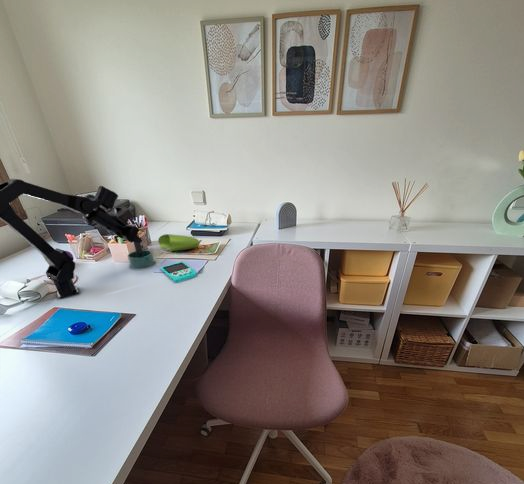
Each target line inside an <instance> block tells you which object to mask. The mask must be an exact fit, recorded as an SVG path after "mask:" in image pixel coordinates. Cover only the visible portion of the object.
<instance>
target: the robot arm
mask: <svg viewBox="0 0 524 484" xmlns="http://www.w3.org/2000/svg"><path fill="white" fill-rule="evenodd" d="M22 195H25V196H29V197H32V198H36V199H40V200H42V201H47V202H51V203H54V204H58V205H59V206H62V207H63V208H66V209H68V210H70V211H72V212H75V213H79V214H83V216H82V218H83V219H84V223H85V224H87V225H92V223H93V222H94V223H95V224H97V225H99V226H100V227H101V228H103V229H105V230H106V232H107V233H108V234H110V235H112V236H116V237H117V238H120V239H123V240H124V241H126V242H129V243H134V242H140V243H142V242H143V240H142V238H141V237H140V236H139V237H138V236H137V234H139V233H140V228H139V227H137V226H136V225H133V224H130V225H128V222H127V221H129V220H130V219H131V218H133V217H134V213H133V212H132V211H131V210H130V208H129V207H125V206H121V207H119V206H116V207H114V206H115V204H116V202H117V200H118V198H119V195H118V193H116V192H115V191H114V190H111V189H109V188H106V187H105V186H104V185H99V186H98V188H97V191H96V194H95V195H94V197H86V196H81V195H77V194H68V193H62V192H59V191H56V190H53V189H49V188H46V187H43V186H40V185H37V184H33V183H31V182H26V181H24V180H22V179H19V178H10V179H8V180H6V181H4V182H2V183H0V221H2V222H3V223H5V224H6V225H7V226H8V227H9V228H10V229H11V230H13V231H14V232H15V233H16V234H17V235H18V236H20V238H22V239H23V240H25V242H27V243H28V244H29V245H30V246H31V247H32V248H34V249H35V250H36V251H37V252H38V253H39V254H40V255H42V257H43V260H44V261H45V262H46V263H47V264H48V267H47V269H46V271H45V275H46V276H47V275H48V276H49V277H50V278H53V280H52V282H53V284H54V286H55V289H56V290H57V292H56V293H57V298H58V299H63V298H67V297H71V296H75V295H78V294H79V293H80V292H79V289H78V286H76V285H75V283H74V281H73V279H74V278H75V270H76V263H75V261H74V257H73V258H71V257H70V256H69V255H68V254H67V253H66V251H67V250H64V249H62V248H59V247H56V248H54V247H53V246H52V245H51V244H50V243H48V241H46V240H45V239H44V238H43V237H42V236H41V235H40V234H39V233H38V232H36V230H34V229H33V228H32V227H31V226H30V225H29V224H28V223H27V222H25V221H24V220H23V219H22V218H21V216H19V215H18V214H17V213H16V211H15V209H14V208H13V206H12V204H11V203H12V202H14V201H15V200H16V199H17V198H19V197H20V196H22ZM113 208H114V215H113V214H112V213H110V212H108V211H109V210H113Z"/></svg>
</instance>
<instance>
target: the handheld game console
mask: <svg viewBox="0 0 524 484" xmlns="http://www.w3.org/2000/svg"><path fill="white" fill-rule="evenodd" d="M160 270H161V271H162V272H164V273H165V274H166V275H167V276H168V277H169V278H170V279H171V280H172V281H173V282H174V283H180V282H182V281H187V280H190V279H193V278H195V277H196V276H197V275H198V273H197V271H196V270H194V268H191V266H189V265H188V264H186V263H185V262H184V261H179V262H178V261H177V262H175V263H171V264H168V265H164V266H161V267H160Z"/></svg>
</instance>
